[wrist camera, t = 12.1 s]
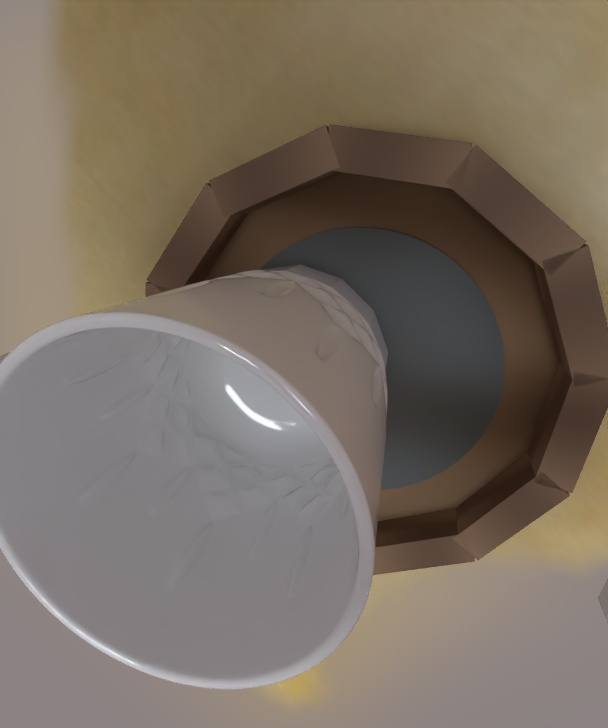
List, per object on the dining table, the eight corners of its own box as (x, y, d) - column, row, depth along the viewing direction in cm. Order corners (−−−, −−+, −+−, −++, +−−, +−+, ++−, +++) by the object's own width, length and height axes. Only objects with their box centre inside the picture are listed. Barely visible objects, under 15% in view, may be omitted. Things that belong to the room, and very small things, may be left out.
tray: (188, 110, 17) (146, 96, 15) (662, 174, 15) (710, 170, 12) (171, 473, 23) (138, 508, 20) (509, 569, 20) (520, 623, 18)
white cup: (181, 406, 20) (-33, 589, 11) (222, 215, 17) (-27, 243, 8) (362, 480, 19) (296, 749, 10) (441, 291, 16) (452, 425, 7)
